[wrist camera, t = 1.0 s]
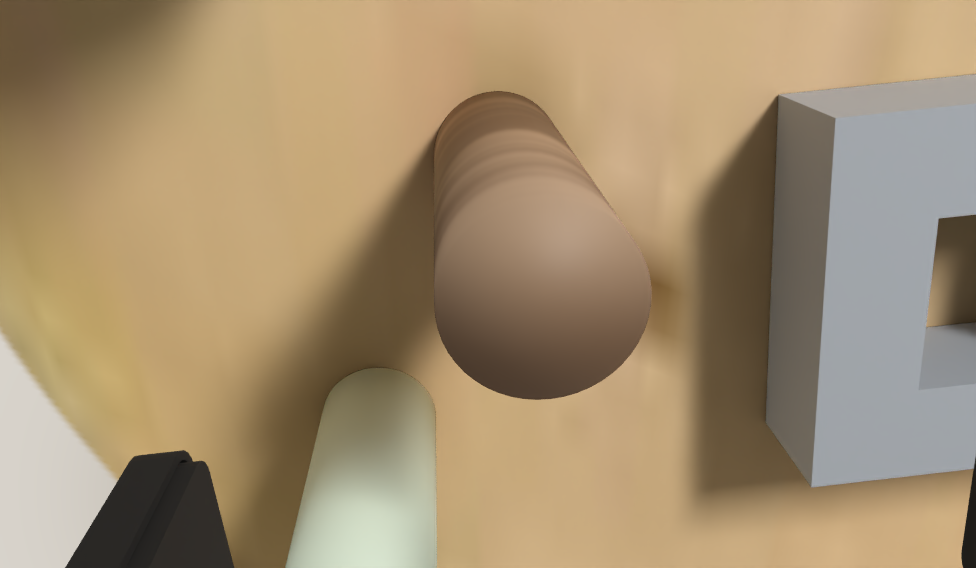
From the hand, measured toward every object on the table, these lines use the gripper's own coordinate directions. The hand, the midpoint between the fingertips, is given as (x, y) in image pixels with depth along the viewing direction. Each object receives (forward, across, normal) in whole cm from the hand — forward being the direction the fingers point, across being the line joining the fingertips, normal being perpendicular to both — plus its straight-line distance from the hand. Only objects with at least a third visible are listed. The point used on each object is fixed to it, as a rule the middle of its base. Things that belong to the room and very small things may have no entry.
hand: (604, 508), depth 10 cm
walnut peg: (+18, 0, 0) cm, 18 cm away
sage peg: (+18, +5, +9) cm, 20 cm away
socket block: (+18, -15, +5) cm, 24 cm away
